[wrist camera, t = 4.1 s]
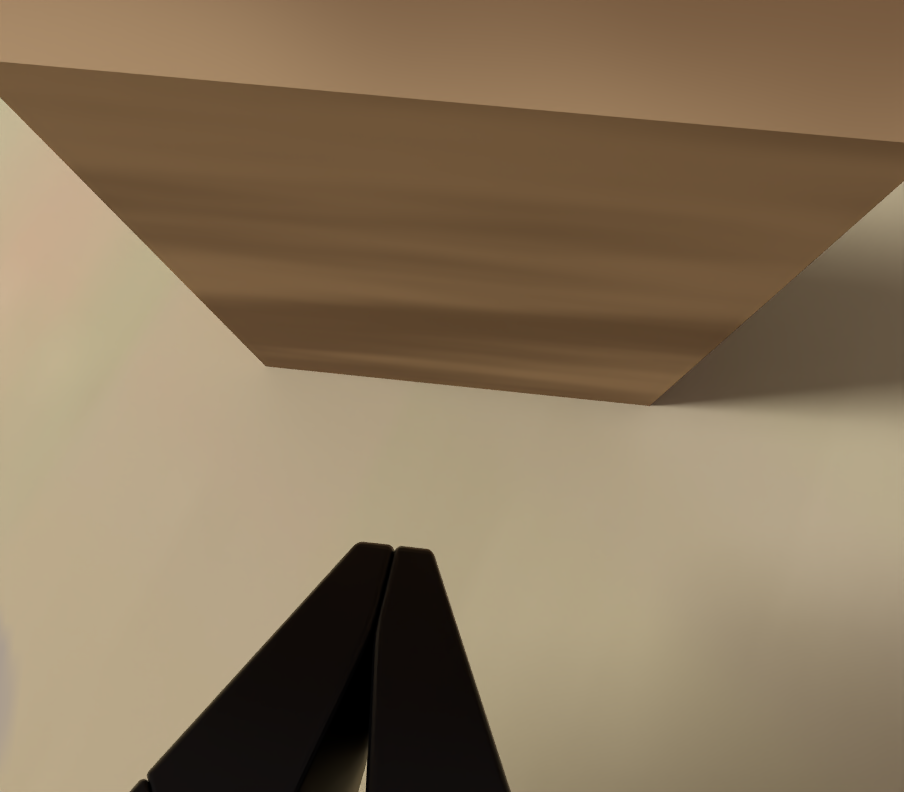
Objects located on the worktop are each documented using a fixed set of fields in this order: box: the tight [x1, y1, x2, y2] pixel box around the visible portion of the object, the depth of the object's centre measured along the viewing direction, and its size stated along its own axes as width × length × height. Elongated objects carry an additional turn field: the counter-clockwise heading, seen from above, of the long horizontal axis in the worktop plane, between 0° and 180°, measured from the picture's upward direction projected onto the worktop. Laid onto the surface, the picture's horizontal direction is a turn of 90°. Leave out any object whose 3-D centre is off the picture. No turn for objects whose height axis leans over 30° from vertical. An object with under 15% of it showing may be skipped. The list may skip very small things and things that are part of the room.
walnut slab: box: [0, 0, 904, 406], centre depth 15 cm, size 4×10×13 cm, turn 84°
